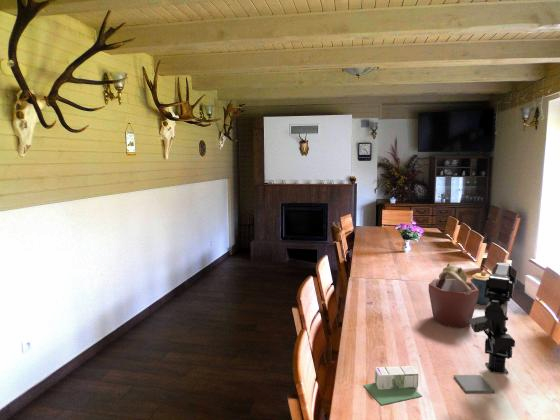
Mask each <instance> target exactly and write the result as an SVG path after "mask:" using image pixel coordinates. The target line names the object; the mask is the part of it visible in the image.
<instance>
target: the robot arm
mask: <svg viewBox="0 0 560 420" xmlns="http://www.w3.org/2000/svg"><path fill="white" fill-rule="evenodd" d="M489 275H490V276H489V278H487V280H486V287H485V294H484V297H486V298H489V300H488V304H487V305H486V306H485V309H484V315H482V316H477V317H472V319H469V322H470V325H469V326H470V327H471V329H472V331H473V332H474V333H480V332H481V333H482V332H483V333H484V334H485V335H486V337H485V341H484V343H485V344H484V354H488V362H484V363H485V366H486V368H488V371H489V372H490V373H498V374H509V371H508V369H507V367H506V359H507V360H510V359H511V358H512V357H513V348H514V347H516V340H515V339H514V338H513V337H512V336H511V335H510V334H509V333H508V328H507V326H506V325H507V321H509V317H508V316H507V315H508V305H509V302H510V301H511V299H513V296H514V295H513V293H514V289H515V285H516V284H517V277H518V271H517V270H516V269H515V268H513V267H512V264H510V263H506V262H497V263H496V265H495V266H494V267H492V271H491V274H489ZM487 291H488V292H493V293H488V294H487Z"/></svg>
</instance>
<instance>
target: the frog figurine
mask: <svg viewBox="0 0 560 420" xmlns="http://www.w3.org/2000/svg"><path fill="white" fill-rule="evenodd" d="M451 271H453V272H455V273H456V274H457V275H458V276H459V277H460V278H461V279H462V280H463V281H465V282H468V281H467V280H468V277H467V273H466V272H465V271H464V269H463V268H462V267H457V266H454V265H452V264H450V263H447V265H446V267H443V268H442V272H440V273H439V275H438V279H440V276H441V274H442V273H443V272H451ZM446 279H455V278H454V277H453V276H452V275H451V274H448V275H447V276H446Z"/></svg>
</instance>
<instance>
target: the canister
mask: <svg viewBox="0 0 560 420" xmlns="http://www.w3.org/2000/svg"><path fill="white" fill-rule="evenodd" d="M490 275H491V274H489V273H487V272H486V271H485V270H482V271H481V272H476V273H474V274H472V277H471V278H470V279H469V280H470V283H473V284H474V285H475V286H476V287H477V288H478V290H479V296H478V299H477V303H476V304H478V305H483V306H485V305H486V306H487V304H488V300H489V298H486V297H484V294H485V287H486V280H487V278H489V276H490ZM488 293H493V292H488V291H487V294H488Z"/></svg>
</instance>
